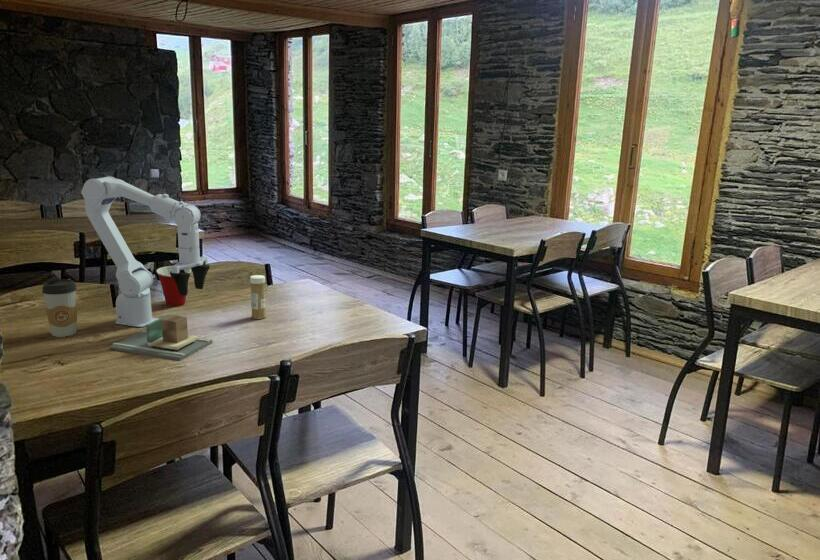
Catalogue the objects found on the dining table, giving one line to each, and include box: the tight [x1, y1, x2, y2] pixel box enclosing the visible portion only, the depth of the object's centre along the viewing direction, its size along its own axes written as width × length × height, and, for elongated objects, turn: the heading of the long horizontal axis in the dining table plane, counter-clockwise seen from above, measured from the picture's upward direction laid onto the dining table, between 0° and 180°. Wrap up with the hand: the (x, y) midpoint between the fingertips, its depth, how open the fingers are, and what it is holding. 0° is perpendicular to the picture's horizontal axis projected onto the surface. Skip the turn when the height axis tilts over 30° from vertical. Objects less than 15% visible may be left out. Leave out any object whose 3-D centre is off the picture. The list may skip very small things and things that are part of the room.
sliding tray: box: [145, 314, 199, 351], centre depth 163 cm, size 9×9×6 cm
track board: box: [109, 330, 213, 361], centre depth 165 cm, size 22×14×1 cm, turn 74°
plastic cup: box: [156, 265, 192, 307], centre depth 201 cm, size 11×11×12 cm
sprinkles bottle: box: [249, 274, 267, 320], centre depth 190 cm, size 5×5×13 cm
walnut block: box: [161, 314, 189, 343], centre depth 163 cm, size 4×4×6 cm
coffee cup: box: [41, 278, 78, 338], centre depth 170 cm, size 8×8×15 cm
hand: (191, 291), depth 180 cm, fingers open, 7 cm apart
